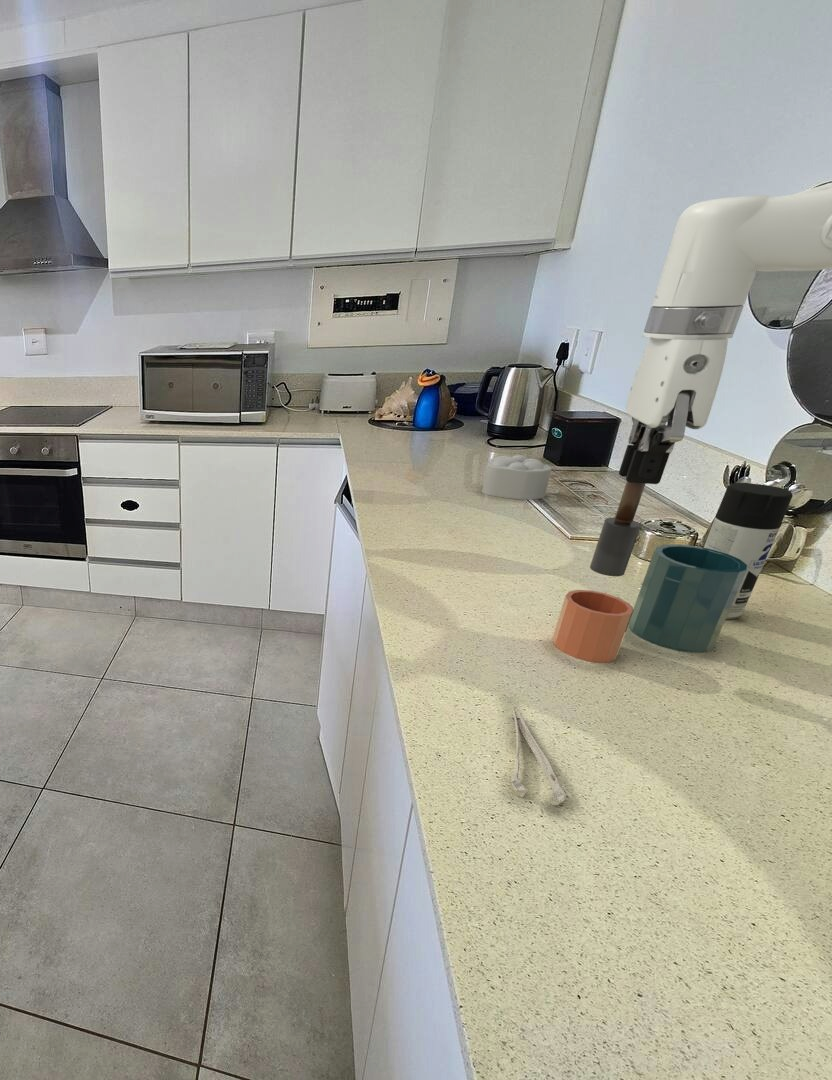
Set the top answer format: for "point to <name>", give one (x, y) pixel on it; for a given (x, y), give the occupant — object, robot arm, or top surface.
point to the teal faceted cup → (686, 597)
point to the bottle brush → (619, 534)
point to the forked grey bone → (519, 789)
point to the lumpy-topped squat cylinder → (516, 478)
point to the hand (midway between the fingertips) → (638, 478)
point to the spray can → (748, 530)
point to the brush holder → (592, 625)
